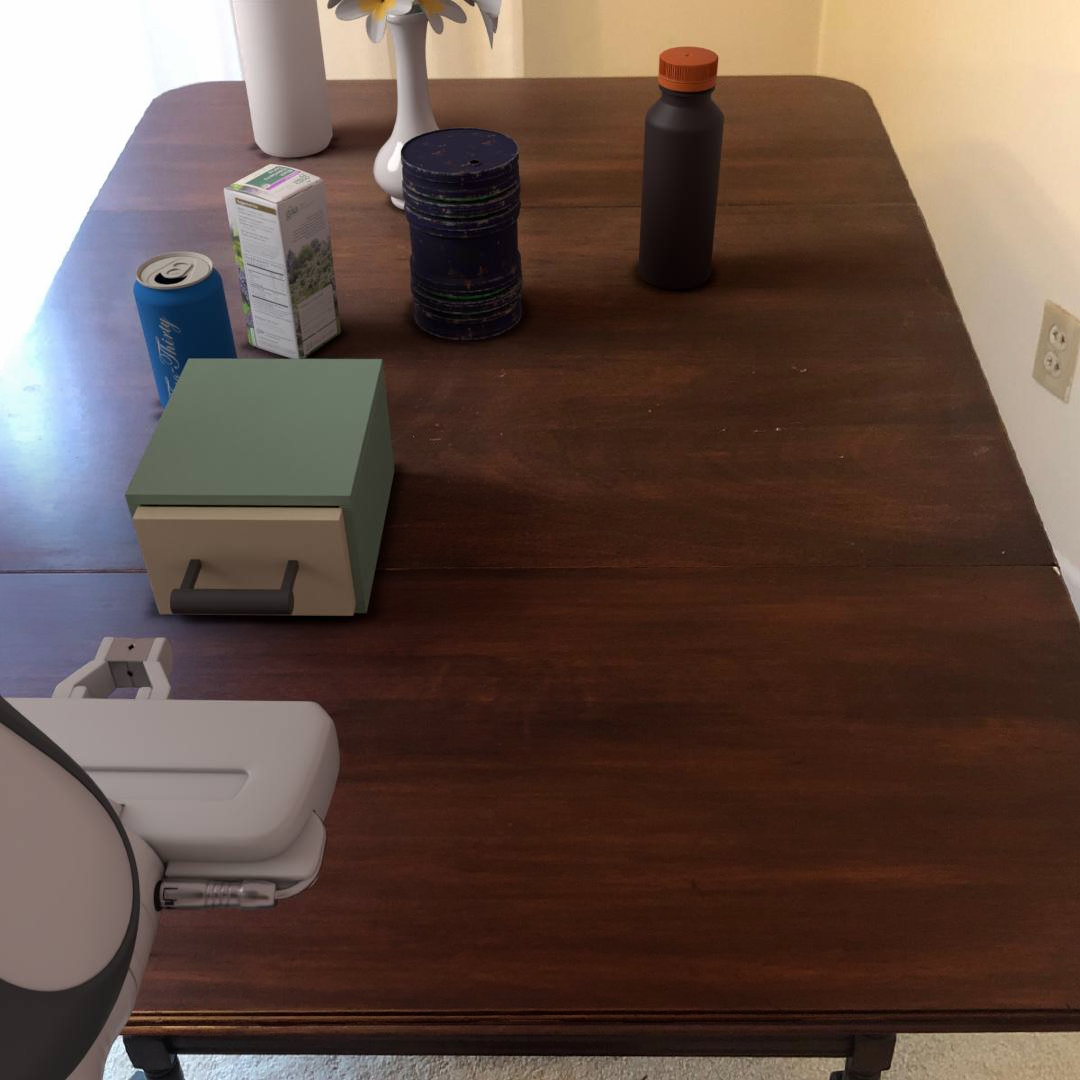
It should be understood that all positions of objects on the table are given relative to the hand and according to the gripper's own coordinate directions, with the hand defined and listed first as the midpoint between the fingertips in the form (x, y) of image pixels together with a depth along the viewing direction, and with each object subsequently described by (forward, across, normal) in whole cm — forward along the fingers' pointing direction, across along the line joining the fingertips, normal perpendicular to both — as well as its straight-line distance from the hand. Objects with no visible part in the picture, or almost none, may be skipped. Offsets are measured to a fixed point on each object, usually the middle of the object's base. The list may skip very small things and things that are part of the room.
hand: (140, 646), depth 57 cm
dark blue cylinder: (+56, -11, +14) cm, 59 cm away
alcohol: (+95, +12, +15) cm, 97 cm away
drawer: (+21, 0, +13) cm, 25 cm away
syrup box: (+52, +4, +14) cm, 54 cm away
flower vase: (+81, -5, +14) cm, 82 cm away
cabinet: (+25, 0, +14) cm, 28 cm away
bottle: (+64, -30, +14) cm, 72 cm away
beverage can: (+41, +9, +14) cm, 45 cm away
